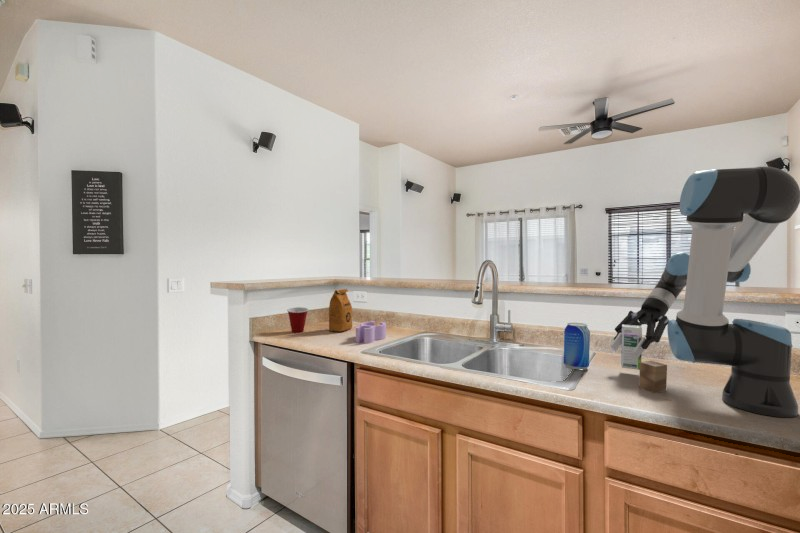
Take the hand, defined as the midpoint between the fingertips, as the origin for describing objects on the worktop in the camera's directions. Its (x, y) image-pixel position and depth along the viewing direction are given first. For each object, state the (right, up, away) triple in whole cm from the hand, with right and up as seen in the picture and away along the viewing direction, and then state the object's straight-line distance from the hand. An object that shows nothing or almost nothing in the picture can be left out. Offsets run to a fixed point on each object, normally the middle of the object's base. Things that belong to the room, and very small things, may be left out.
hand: (623, 351), depth 129 cm
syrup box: (+3, -6, +1) cm, 7 cm away
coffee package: (-109, -5, +70) cm, 130 cm away
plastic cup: (-130, -5, +65) cm, 146 cm away
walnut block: (+1, -9, -13) cm, 16 cm away
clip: (-91, -6, +52) cm, 105 cm away
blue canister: (-13, -8, +8) cm, 17 cm away
